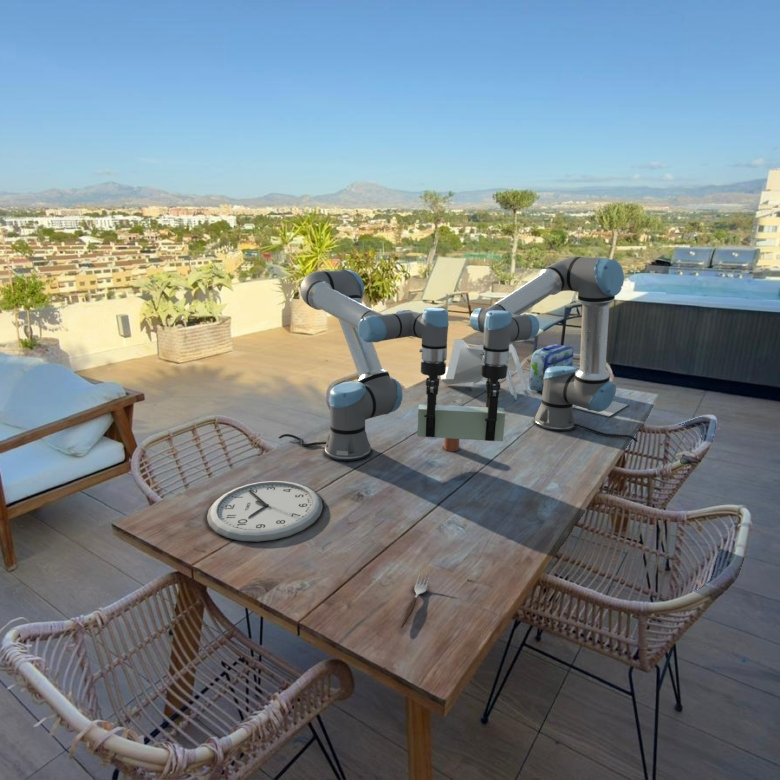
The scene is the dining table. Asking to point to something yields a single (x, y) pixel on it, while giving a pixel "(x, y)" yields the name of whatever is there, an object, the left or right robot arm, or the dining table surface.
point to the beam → (460, 422)
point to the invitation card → (607, 409)
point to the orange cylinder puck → (451, 444)
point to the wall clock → (264, 511)
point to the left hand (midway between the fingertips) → (430, 432)
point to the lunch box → (548, 363)
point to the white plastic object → (476, 366)
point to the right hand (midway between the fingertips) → (489, 436)
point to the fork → (419, 589)
